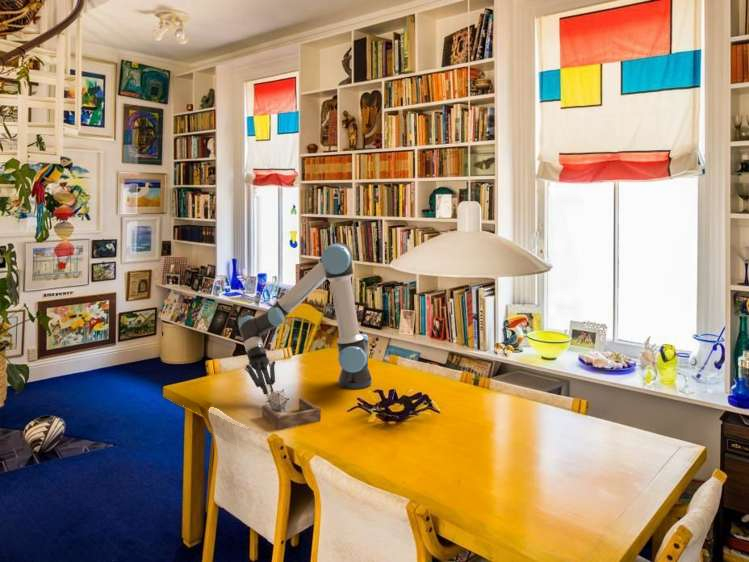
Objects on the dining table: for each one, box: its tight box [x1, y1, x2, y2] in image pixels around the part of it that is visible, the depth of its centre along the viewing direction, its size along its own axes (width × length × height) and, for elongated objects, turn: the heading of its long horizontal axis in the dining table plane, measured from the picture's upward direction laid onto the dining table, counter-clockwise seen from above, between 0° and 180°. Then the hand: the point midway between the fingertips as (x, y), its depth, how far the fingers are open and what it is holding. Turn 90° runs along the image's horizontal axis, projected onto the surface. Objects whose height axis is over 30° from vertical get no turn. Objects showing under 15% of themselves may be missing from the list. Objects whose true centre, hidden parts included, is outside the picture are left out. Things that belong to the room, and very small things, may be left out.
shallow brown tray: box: [261, 397, 322, 430], centre depth 225 cm, size 17×15×4 cm
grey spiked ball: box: [266, 388, 290, 411], centre depth 233 cm, size 9×8×10 cm
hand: (271, 400), depth 237 cm, fingers closed
